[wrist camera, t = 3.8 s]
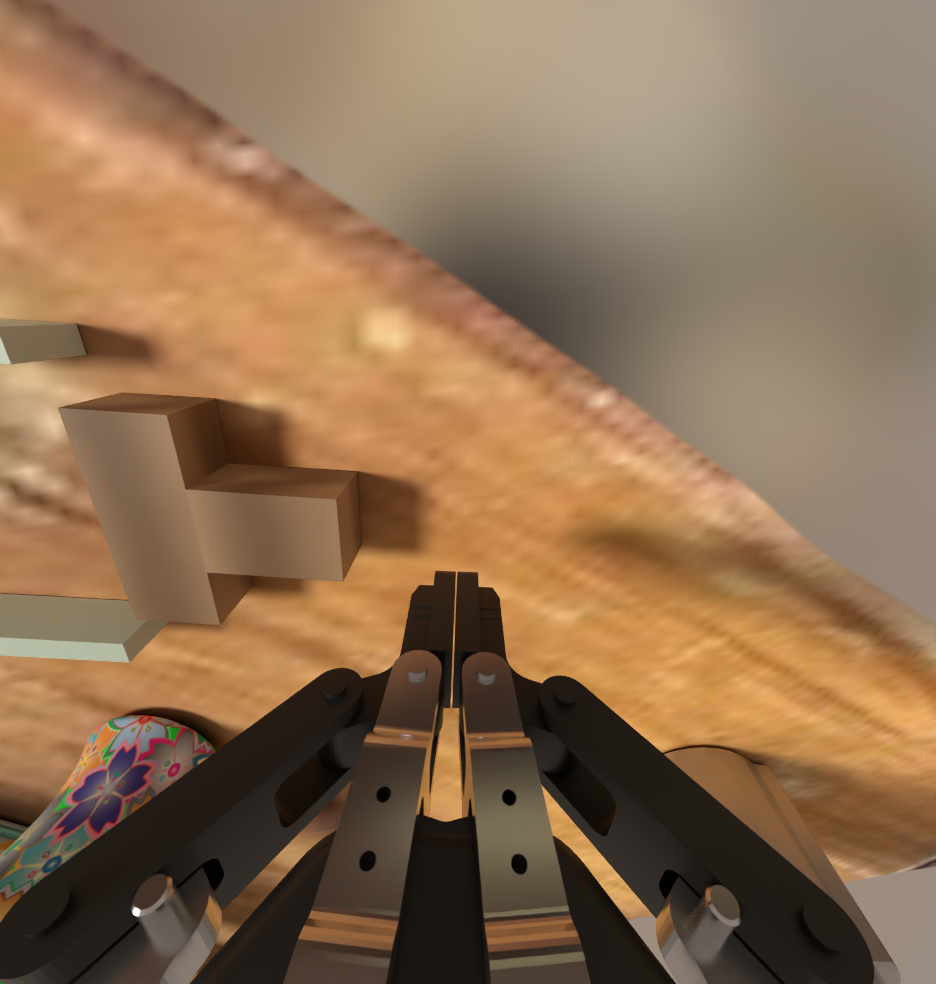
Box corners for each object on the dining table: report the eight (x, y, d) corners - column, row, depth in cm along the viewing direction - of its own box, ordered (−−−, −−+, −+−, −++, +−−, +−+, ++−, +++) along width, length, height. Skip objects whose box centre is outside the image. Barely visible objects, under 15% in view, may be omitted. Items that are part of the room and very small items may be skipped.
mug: (66, 703, 26) (-177, 941, 16) (206, 695, 25) (41, 936, 16) (146, 811, 31) (-4, 1042, 21) (264, 807, 30) (166, 1041, 21)
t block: (353, 407, 17) (329, 426, 15) (364, 592, 22) (347, 633, 19) (123, 392, 18) (58, 407, 15) (178, 580, 22) (135, 619, 19)
